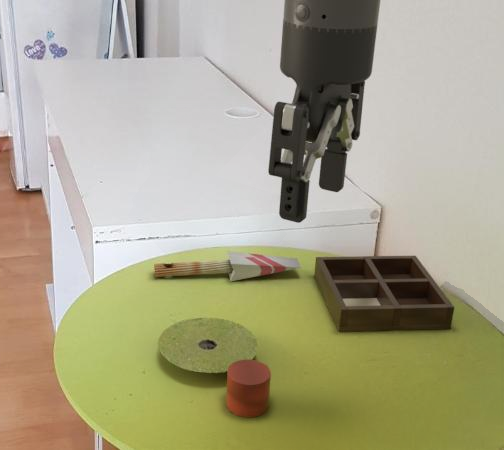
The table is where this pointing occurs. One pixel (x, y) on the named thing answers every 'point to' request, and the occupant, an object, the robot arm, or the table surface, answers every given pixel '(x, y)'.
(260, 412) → the red cylinder
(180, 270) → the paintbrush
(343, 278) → the grid
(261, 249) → the table surface
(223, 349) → the green disc
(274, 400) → the table surface
